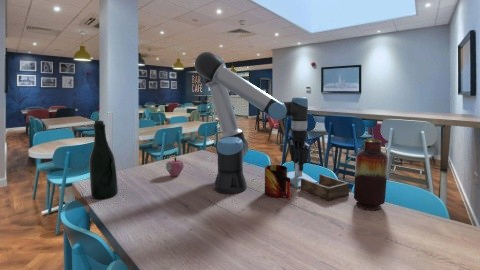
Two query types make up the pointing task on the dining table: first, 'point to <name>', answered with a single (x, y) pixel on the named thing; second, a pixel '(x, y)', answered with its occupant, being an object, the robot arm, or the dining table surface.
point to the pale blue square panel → (298, 179)
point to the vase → (370, 176)
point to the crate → (326, 188)
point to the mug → (277, 182)
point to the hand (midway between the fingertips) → (298, 176)
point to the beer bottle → (102, 165)
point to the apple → (174, 167)
